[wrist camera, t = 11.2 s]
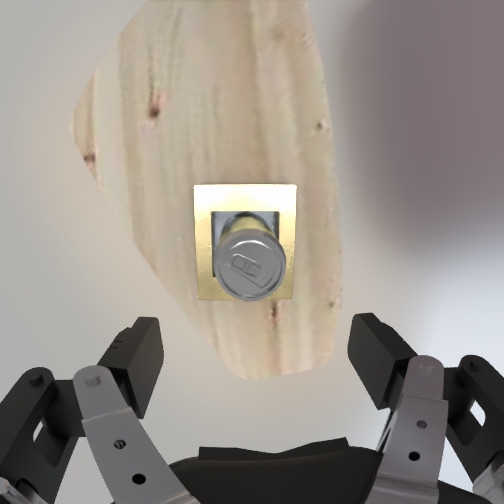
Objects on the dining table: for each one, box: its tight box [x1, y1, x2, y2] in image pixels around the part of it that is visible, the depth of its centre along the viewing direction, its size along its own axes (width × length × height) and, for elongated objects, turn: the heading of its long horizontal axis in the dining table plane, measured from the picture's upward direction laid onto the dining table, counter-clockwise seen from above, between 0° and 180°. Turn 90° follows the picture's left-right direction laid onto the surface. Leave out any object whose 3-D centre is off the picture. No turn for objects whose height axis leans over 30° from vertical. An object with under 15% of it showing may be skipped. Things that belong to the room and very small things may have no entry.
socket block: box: [194, 184, 296, 300], centre depth 30 cm, size 12×10×4 cm
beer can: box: [213, 212, 286, 301], centre depth 25 cm, size 5×5×12 cm
